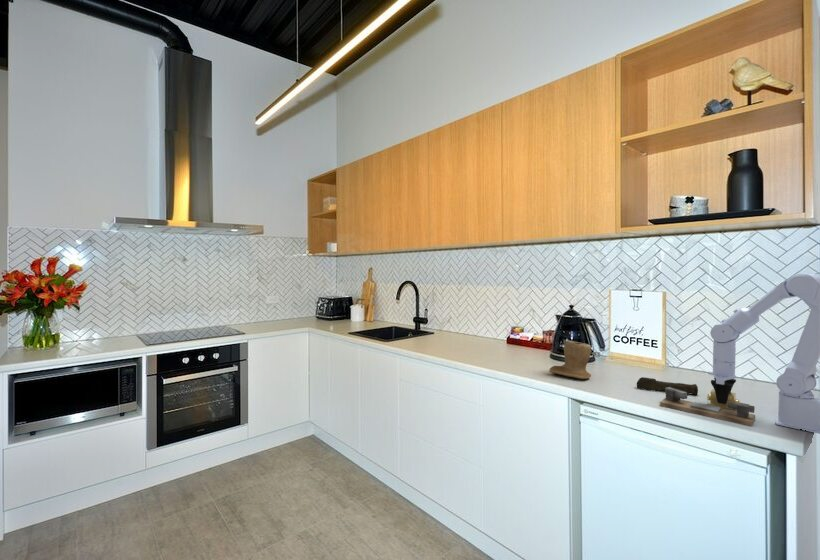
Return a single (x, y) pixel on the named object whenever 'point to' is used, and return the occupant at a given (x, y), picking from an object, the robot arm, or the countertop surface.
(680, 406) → the shaft stand
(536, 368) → the countertop surface
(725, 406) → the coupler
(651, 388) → the hand tool
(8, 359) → the countertop surface
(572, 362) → the brown flared stand
